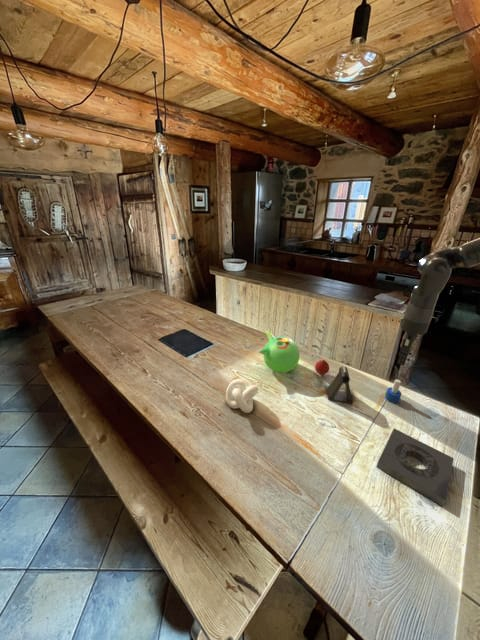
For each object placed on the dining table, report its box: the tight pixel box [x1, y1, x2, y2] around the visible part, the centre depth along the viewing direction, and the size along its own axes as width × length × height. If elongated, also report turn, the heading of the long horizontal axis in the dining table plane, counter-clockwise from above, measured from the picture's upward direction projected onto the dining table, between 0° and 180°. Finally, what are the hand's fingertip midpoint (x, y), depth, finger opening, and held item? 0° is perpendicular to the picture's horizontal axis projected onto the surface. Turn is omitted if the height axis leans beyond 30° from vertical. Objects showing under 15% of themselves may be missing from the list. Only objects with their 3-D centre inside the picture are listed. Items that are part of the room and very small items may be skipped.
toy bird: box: [258, 330, 301, 373], centre depth 117 cm, size 18×17×15 cm
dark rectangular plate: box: [375, 428, 454, 507], centre depth 77 cm, size 16×16×2 cm
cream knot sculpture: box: [225, 378, 259, 414], centre depth 97 cm, size 11×12×9 cm
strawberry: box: [314, 359, 330, 376], centre depth 114 cm, size 6×6×8 cm
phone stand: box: [326, 366, 354, 404], centre depth 101 cm, size 9×6×12 cm, turn 78°
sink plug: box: [384, 379, 402, 404], centre depth 101 cm, size 5×5×8 cm
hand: (403, 358), depth 94 cm, fingers open, 8 cm apart
